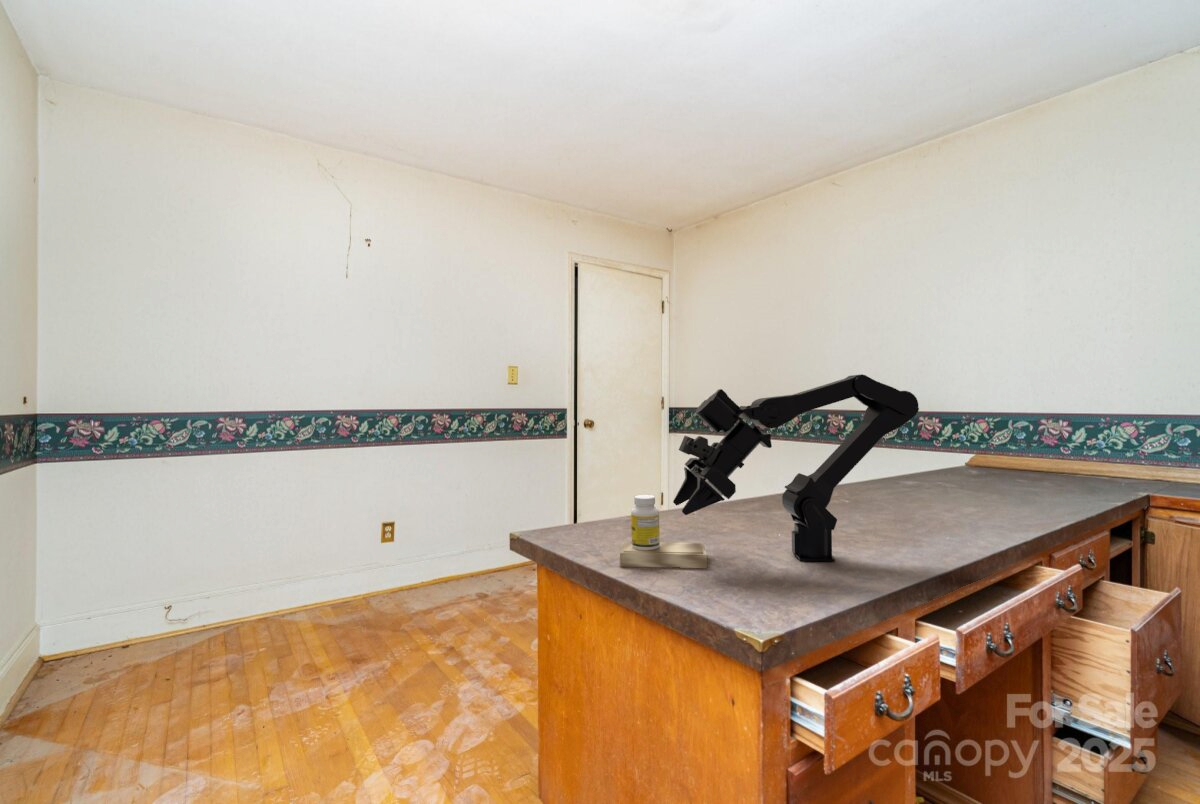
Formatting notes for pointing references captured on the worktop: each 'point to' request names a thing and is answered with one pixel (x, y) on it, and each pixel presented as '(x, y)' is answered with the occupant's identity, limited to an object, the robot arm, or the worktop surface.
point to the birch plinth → (665, 555)
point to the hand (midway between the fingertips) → (678, 508)
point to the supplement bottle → (645, 523)
